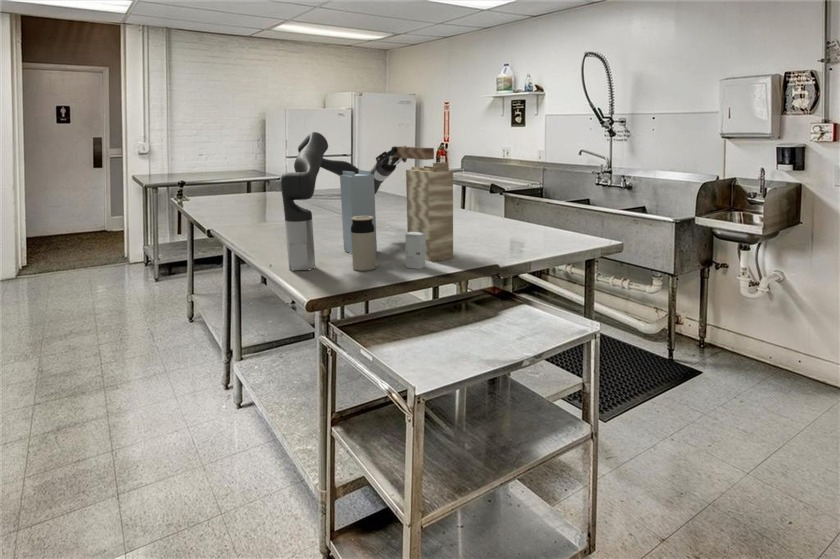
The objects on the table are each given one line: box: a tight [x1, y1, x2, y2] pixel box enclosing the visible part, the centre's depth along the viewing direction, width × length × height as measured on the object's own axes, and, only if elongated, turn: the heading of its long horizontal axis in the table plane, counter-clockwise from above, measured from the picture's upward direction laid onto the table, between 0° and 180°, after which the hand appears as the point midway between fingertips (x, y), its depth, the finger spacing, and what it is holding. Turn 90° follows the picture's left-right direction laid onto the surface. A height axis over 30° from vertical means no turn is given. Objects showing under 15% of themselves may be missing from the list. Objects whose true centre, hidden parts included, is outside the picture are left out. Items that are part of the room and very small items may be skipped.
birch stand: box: [405, 161, 454, 262], centre depth 207 cm, size 16×10×35 cm, turn 33°
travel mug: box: [351, 216, 377, 272], centre depth 192 cm, size 8×8×18 cm
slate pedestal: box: [339, 169, 378, 255], centre depth 217 cm, size 9×10×32 cm
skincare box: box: [405, 232, 426, 270], centre depth 194 cm, size 6×4×12 cm
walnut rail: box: [391, 145, 435, 161], centre depth 212 cm, size 24×4×4 cm, turn 33°
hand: (401, 148), depth 218 cm, fingers closed on walnut rail, 4 cm apart
